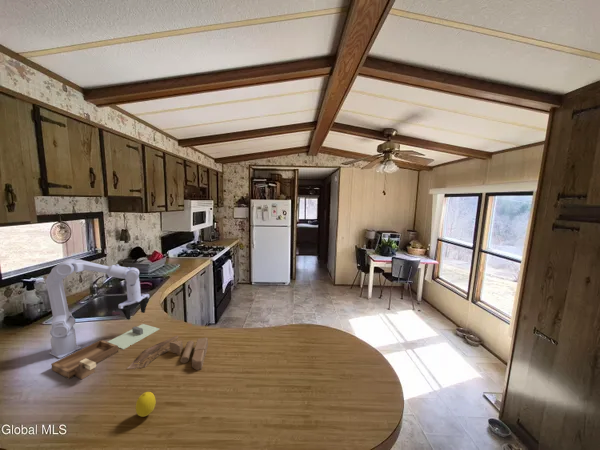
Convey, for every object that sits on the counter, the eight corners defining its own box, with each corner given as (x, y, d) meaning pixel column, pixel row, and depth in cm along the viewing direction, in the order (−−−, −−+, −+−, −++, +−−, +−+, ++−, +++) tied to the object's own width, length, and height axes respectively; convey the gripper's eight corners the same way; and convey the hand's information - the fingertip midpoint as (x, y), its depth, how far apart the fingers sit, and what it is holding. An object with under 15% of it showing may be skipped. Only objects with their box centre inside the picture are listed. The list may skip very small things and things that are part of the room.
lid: (106, 344, 115) (105, 337, 115) (143, 325, 132) (142, 319, 132) (123, 350, 110) (122, 343, 110) (159, 330, 127) (159, 323, 127)
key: (80, 365, 94) (79, 361, 93) (86, 362, 95) (85, 358, 95) (90, 370, 91) (89, 365, 91) (96, 366, 93) (95, 362, 93)
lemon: (142, 408, 79) (141, 387, 78) (159, 407, 79) (158, 385, 79) (132, 423, 73) (130, 401, 73) (150, 422, 74) (148, 399, 73)
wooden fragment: (136, 374, 95) (136, 371, 95) (119, 367, 99) (119, 364, 99) (187, 339, 119) (187, 337, 119) (172, 334, 123) (172, 332, 123)
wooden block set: (207, 334, 114) (201, 358, 96) (208, 344, 114) (202, 370, 97) (170, 339, 110) (156, 365, 92) (170, 350, 110) (157, 378, 93)
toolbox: (52, 370, 97) (50, 357, 96) (101, 345, 113) (100, 333, 113) (76, 382, 90) (74, 368, 89) (125, 354, 107) (124, 342, 106)
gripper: (123, 297, 112) (126, 323, 114) (152, 287, 126) (154, 310, 127) (114, 295, 115) (117, 321, 116) (143, 285, 128) (145, 308, 130)
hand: (135, 315), depth 122 cm, fingers open, 7 cm apart
